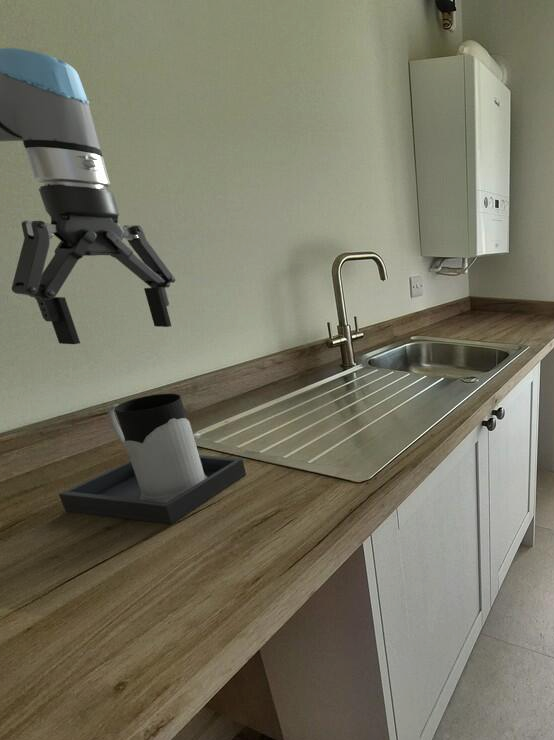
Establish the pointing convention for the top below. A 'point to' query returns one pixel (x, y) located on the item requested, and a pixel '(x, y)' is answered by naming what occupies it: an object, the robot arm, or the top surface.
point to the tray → (122, 500)
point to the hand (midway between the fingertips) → (121, 334)
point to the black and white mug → (158, 445)
